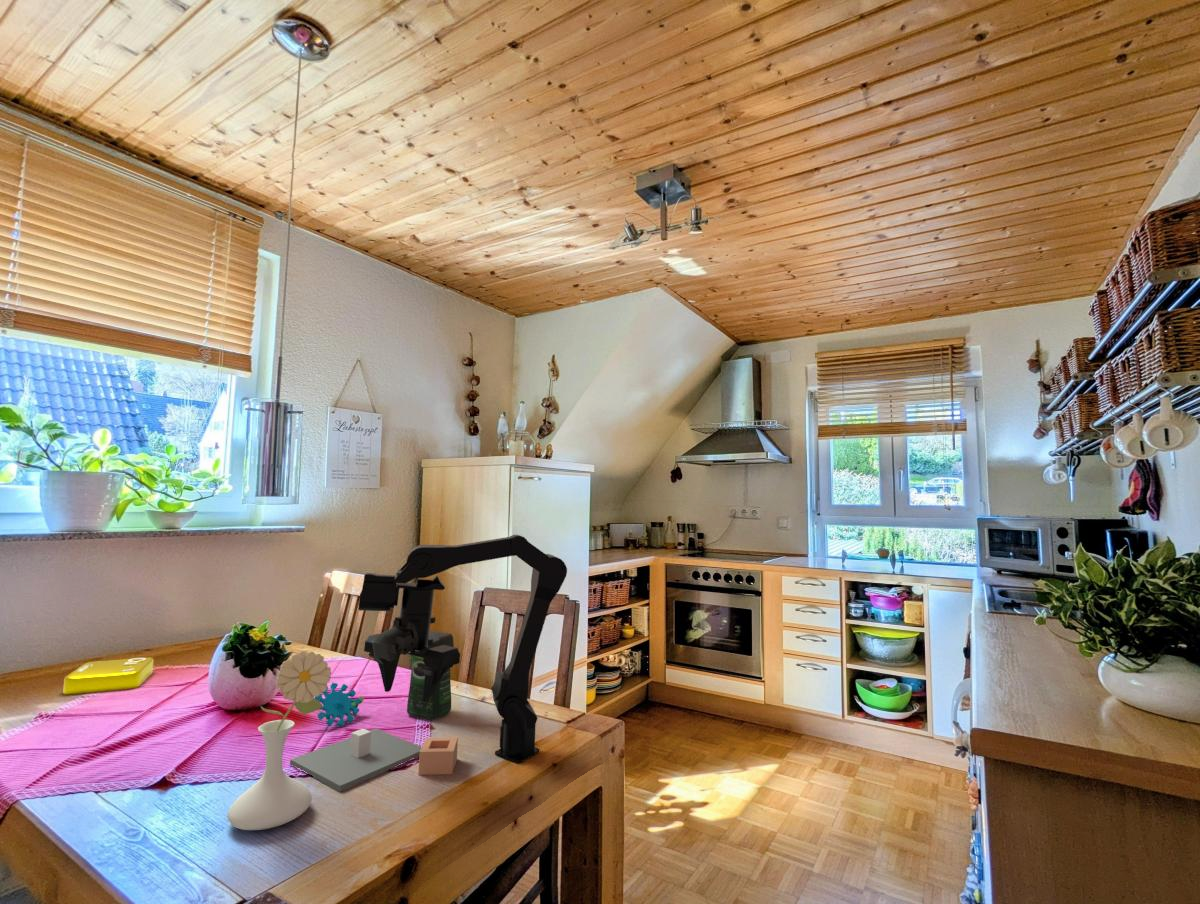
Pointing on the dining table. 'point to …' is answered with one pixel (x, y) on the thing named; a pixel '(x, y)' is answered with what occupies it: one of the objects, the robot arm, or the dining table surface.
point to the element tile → (108, 675)
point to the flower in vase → (275, 790)
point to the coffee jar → (442, 693)
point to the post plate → (356, 758)
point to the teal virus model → (338, 705)
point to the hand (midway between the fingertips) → (406, 696)
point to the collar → (438, 756)
